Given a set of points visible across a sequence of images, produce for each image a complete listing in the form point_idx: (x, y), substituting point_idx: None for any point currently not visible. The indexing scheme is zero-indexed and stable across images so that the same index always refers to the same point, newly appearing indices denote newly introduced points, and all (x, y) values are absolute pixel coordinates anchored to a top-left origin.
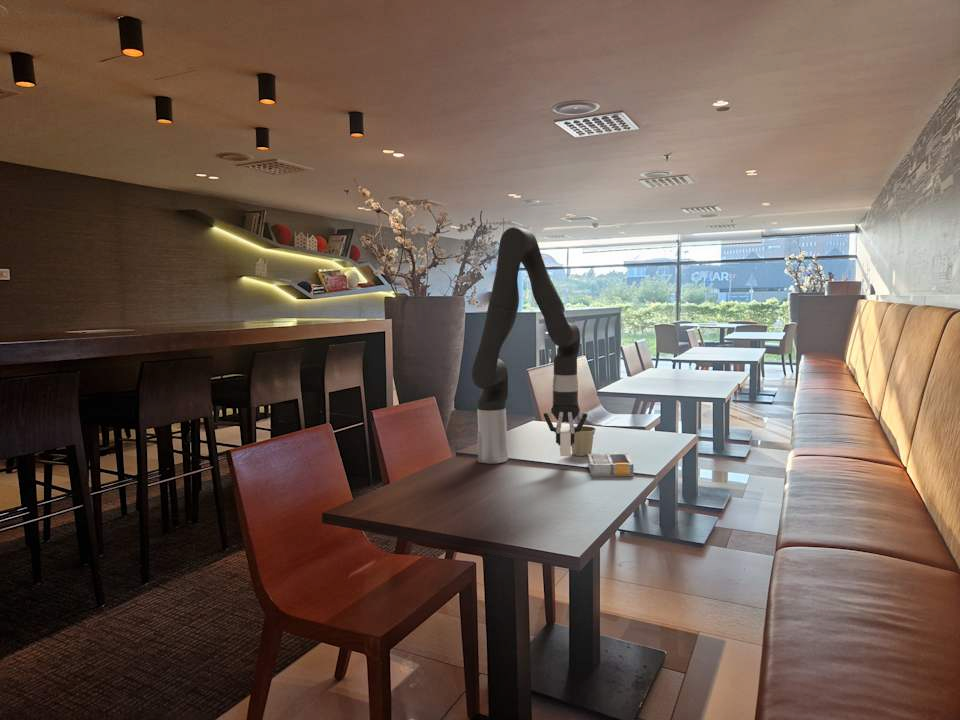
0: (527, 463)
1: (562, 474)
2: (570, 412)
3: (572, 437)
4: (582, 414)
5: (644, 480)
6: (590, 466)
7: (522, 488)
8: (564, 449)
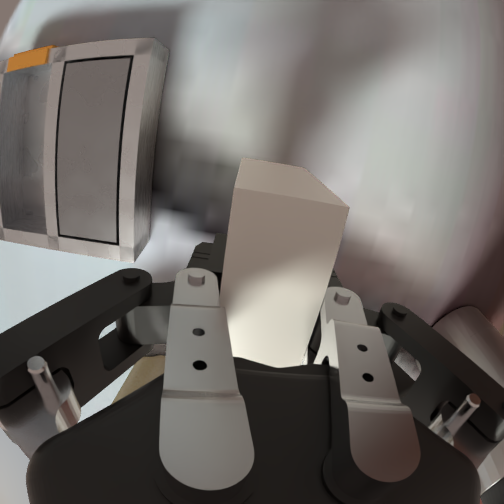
0: (382, 303)
1: (292, 108)
2: (185, 473)
3: (204, 263)
4: (19, 406)
5: (17, 24)
6: (152, 79)
7: (454, 3)
8: (285, 168)
